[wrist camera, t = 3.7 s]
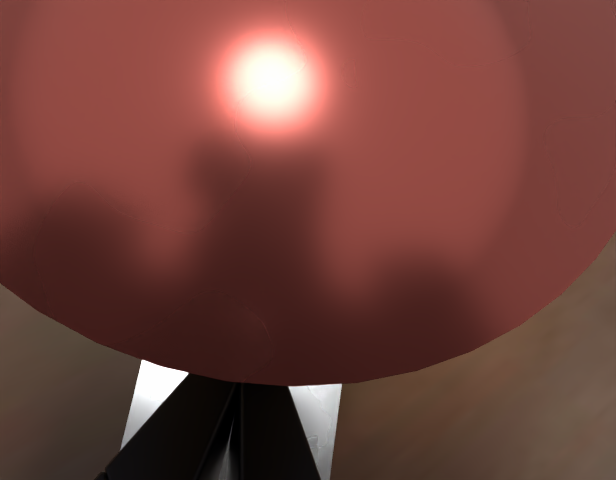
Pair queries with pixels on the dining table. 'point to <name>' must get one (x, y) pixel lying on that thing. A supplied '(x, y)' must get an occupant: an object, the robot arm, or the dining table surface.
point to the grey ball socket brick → (309, 403)
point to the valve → (303, 175)
